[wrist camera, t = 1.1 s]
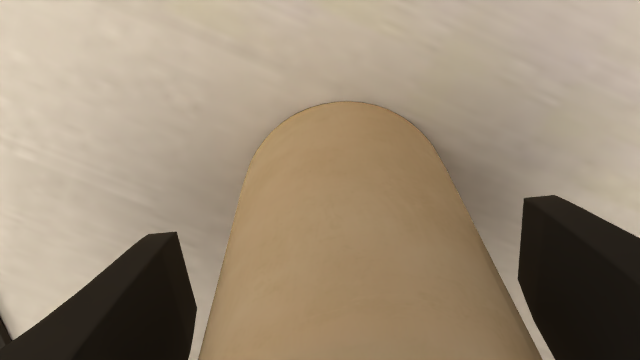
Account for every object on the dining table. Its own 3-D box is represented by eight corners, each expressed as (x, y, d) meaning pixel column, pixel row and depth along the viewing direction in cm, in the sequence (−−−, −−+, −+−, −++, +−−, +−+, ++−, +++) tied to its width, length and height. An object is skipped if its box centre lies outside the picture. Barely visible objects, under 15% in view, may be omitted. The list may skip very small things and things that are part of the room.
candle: (202, 192, 15) (36, 621, 6) (350, 53, 13) (428, 359, 4) (339, 304, 17) (368, 762, 8) (484, 195, 15) (735, 618, 6)
